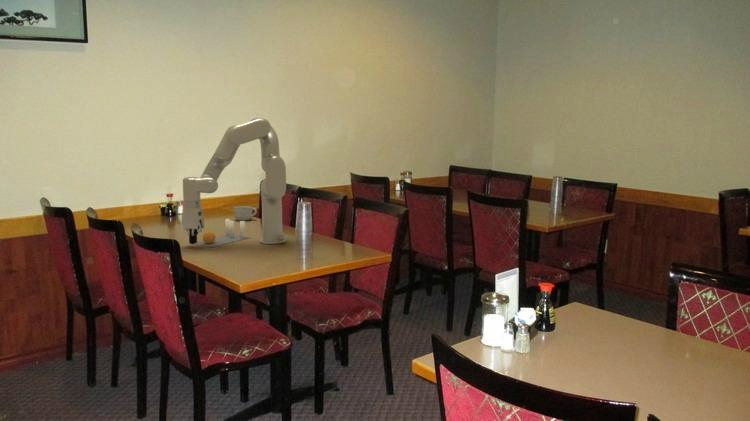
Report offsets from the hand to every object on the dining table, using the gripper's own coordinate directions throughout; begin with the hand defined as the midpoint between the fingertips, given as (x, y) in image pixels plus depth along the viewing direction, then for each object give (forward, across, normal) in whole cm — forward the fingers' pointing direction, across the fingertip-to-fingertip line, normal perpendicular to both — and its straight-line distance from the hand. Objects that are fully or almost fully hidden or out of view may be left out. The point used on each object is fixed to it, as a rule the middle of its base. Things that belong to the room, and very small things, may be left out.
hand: (193, 243), depth 271 cm
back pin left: (+2, -5, -27) cm, 28 cm away
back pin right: (+2, +5, -27) cm, 28 cm away
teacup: (+2, +28, -65) cm, 70 cm away
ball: (-1, 0, -10) cm, 10 cm away
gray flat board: (+2, 0, -18) cm, 18 cm away
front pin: (+2, 0, -25) cm, 25 cm away
